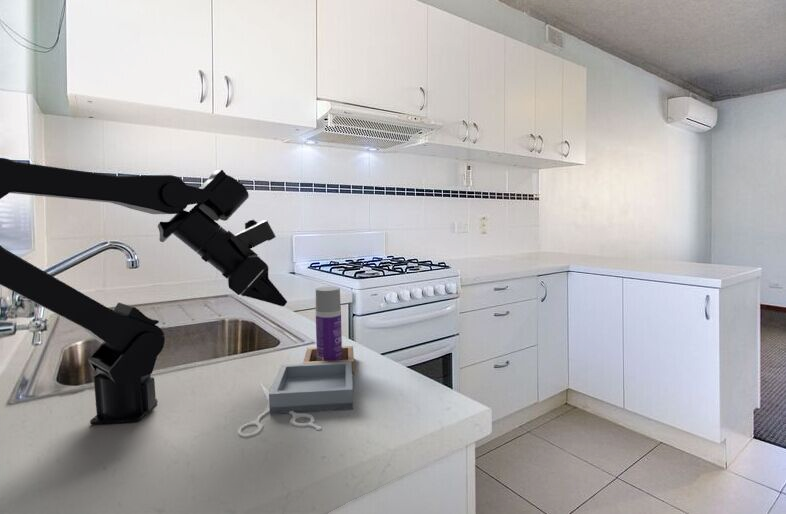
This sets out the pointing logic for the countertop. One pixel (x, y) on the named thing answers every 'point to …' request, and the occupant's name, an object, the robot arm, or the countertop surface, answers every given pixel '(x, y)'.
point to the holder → (346, 357)
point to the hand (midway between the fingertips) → (281, 298)
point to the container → (328, 324)
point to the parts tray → (312, 388)
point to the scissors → (256, 422)
